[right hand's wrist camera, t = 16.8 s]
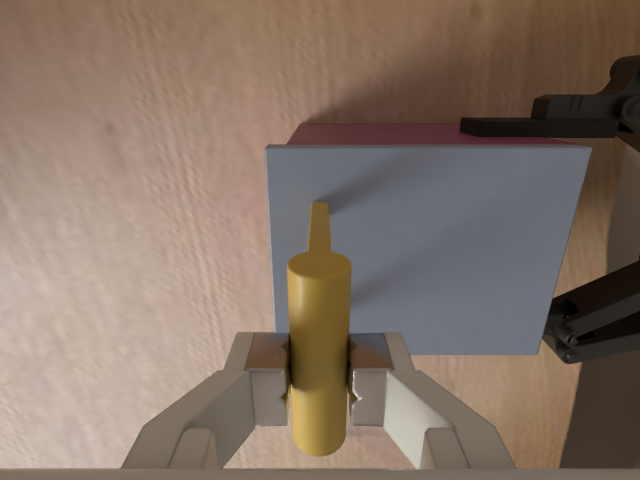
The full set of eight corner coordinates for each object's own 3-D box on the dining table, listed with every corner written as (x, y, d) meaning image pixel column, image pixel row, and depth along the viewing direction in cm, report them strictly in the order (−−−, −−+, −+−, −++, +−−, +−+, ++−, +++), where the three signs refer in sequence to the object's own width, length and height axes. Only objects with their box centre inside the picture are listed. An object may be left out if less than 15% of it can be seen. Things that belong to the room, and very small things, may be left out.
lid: (277, 344, 19) (250, 503, 12) (267, 144, 15) (217, 191, 8) (528, 344, 19) (660, 504, 12) (579, 144, 15) (822, 191, 8)
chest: (302, 256, 29) (292, 343, 19) (299, 123, 25) (285, 144, 15) (455, 256, 29) (528, 344, 19) (475, 123, 25) (579, 144, 15)
